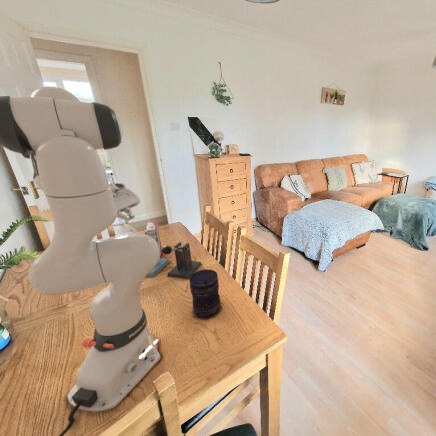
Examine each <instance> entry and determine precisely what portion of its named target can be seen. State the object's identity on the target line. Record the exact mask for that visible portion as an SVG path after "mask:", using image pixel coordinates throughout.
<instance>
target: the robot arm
mask: <svg viewBox="0 0 436 436" xmlns="http://www.w3.org/2000/svg"><path fill="white" fill-rule="evenodd" d="M123 133H124V131H123V125H122V122H121V120H120V118H119V117H118V115H117V114H116V111H115V110H114V109H112V108H111V107H110V106H108V105H106V104H103V103H99V102H95V101H92V102H86V101H80V99H79V98H78V97H77V96H75V94H73V93H72V92H70V91H68V90H66V89H64V88H60V87H58V86H57V87H56V86H43V87H42V86H41V87H39V88H37V89H35V90H34V91H33V92H32V93H31V94H30V96H20V97H11V96H10V95H1V96H0V146H1V147H3V148H5V149H7V150H9V151H11V152H14V153H17V154H21V155H22V157H23V158H25V159H27V160H30V159H31V165H32V168H33V174H32V175H33V177H32V178H33V181H34V184H35V185H36V186H37V187H38V188H39V190H41V191H42V192H43V194H44V196H45V198H46V201H47V203H48V206H49V211H50V213H51V218H52V221H53V226H54V228H53V229H54V231H53V236H52V239H51V241H50V243H49V245H48V246H47V247H46V248H45V250H43V251H42V252H41V253H40V254H39V255H38V256H36V258H35V259H34V260H33V261H32V262H31V264H30V266H29V268H28V269H29V270H28V274H27V275H28V281H29V284H30V286H31V287H32V289H34V290H35V291H36V292H38V293H40V294H42V295H44V296H48V297H49V296H57V295H65V294H71V293H72V294H73V293H77V292H80V291H85V290H88V289H92V288H96V287H99V286H103V285H106V284H108V285H107V286H105V287H104V288H103V289H101V290H100V291H98V292H97V293H96V295H94V296H93V298H92V300H91V301H90V304H89V307H88V312H89V315H90V317H91V320H92V324H93V326H94V329H93V330H94V331H93V338H89V337H86V338H85V339H83V340H82V343H81V346H82V347H84V348H90V350H89V351H88V353H87V355H86V356H85V358H84V360H83V361H82V363H81V365H80V367H79V369H78V371H76V375H75V384H74V385H73V387H72V388H71V389H70V391H68V394H67V401H68V403H69V404H70V406H72V407H73V408H72V409H71V411H70V412H69V415H68V418H67V420H68V424H67V426H66V427H65V428H64V430H63V431H62V432H61V433H59V435H58V436H64V435H65V434H66V433H67V432H68V431H70V429H71V428H72V426H73V425H74V423H75V420H76V419H75V414H76V412H77V411H78V410H81V411H86V412H104V411H108V410H112V409H113V408H115V407H117V406H118V405H119V404H120V403H121V402H122V401H123V400H124V399H125V397H126V396H127V395H128V394H129V393H130V392H131V391H132V390H133V389H134V388H135V387H136V386H137V385H138V383H139V382H141V381H142V379H143V378H144V377H145V376H146V375H147V374H148V373H149V372H150V371H151V370H152V368H154V366H155V365H156V364H157V363H158V362H159V361H160V360H161V354H160V352H159V350H158V349H159V348H158V345H159V344H158V341H159V339H156V338H155V337H154V336H153V334H152V333H151V331H150V329H149V326H148V320H147V319H148V318H147V316H146V311H145V310H144V308H143V307H142V302H141V296H140V295H141V294H140V291H141V287H142V283H143V282H144V280H145V278H146V277H148V276H147V274H148V273H149V272H150V271H151V270H152V269H153V268H154V267H155V266H156V265H157V263H158V261H159V259H160V248H159V245H158V244H157V242H156V241H155V240H154V239H153V238H152V237H150V236H149V235H146V234H130V235H129V234H128V235H123V236H117V237H113V238H106V239H102V240H93V239H94V238H95V237H96V236H97V235H99V234H101V233H103V232H104V231H105V230H107V229H108V228H110V227H111V226H112V225H113V224H114V223H115V221H116V220H117V218H118V219H121V220H123V221H124V222H129V221H130V220H133V219H134V218H135V217H136V215H135V214H133V211H132V208H134V207H137V206H138V205H139V204H140V202H141V198H140V197H139V196H138V195H137V194H136V193H135V192H133V191H132V190H131V189H130V188H127V185H126V184H125V183H122V182H121V183H120V182H110V181H109V177H108V174H107V171H106V168H105V166H104V163H103V162H102V159H101V157H100V155H99V153H98V152H97V150H102V149H103V150H104V151H105V150H111V149H115V148H118V147H119V146H120V145H121V143H122V138H123ZM123 212H124V213H125V214H123ZM126 214H127V215H126Z"/></svg>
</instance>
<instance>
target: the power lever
mask: <svg viewBox="0 0 436 436" xmlns="http://www.w3.org/2000/svg"><path fill="white" fill-rule="evenodd" d="M184 245H185V244H184ZM184 245H183V244H181V245H179V246H178V247H177V248H174V247H171V246H170V245H165V246H163V247H162V251H161V253H163V254H164V255H170V254H171V253H172V252H175V250H178V251H182V247H183V246H184ZM182 252H183V251H182Z"/></svg>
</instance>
